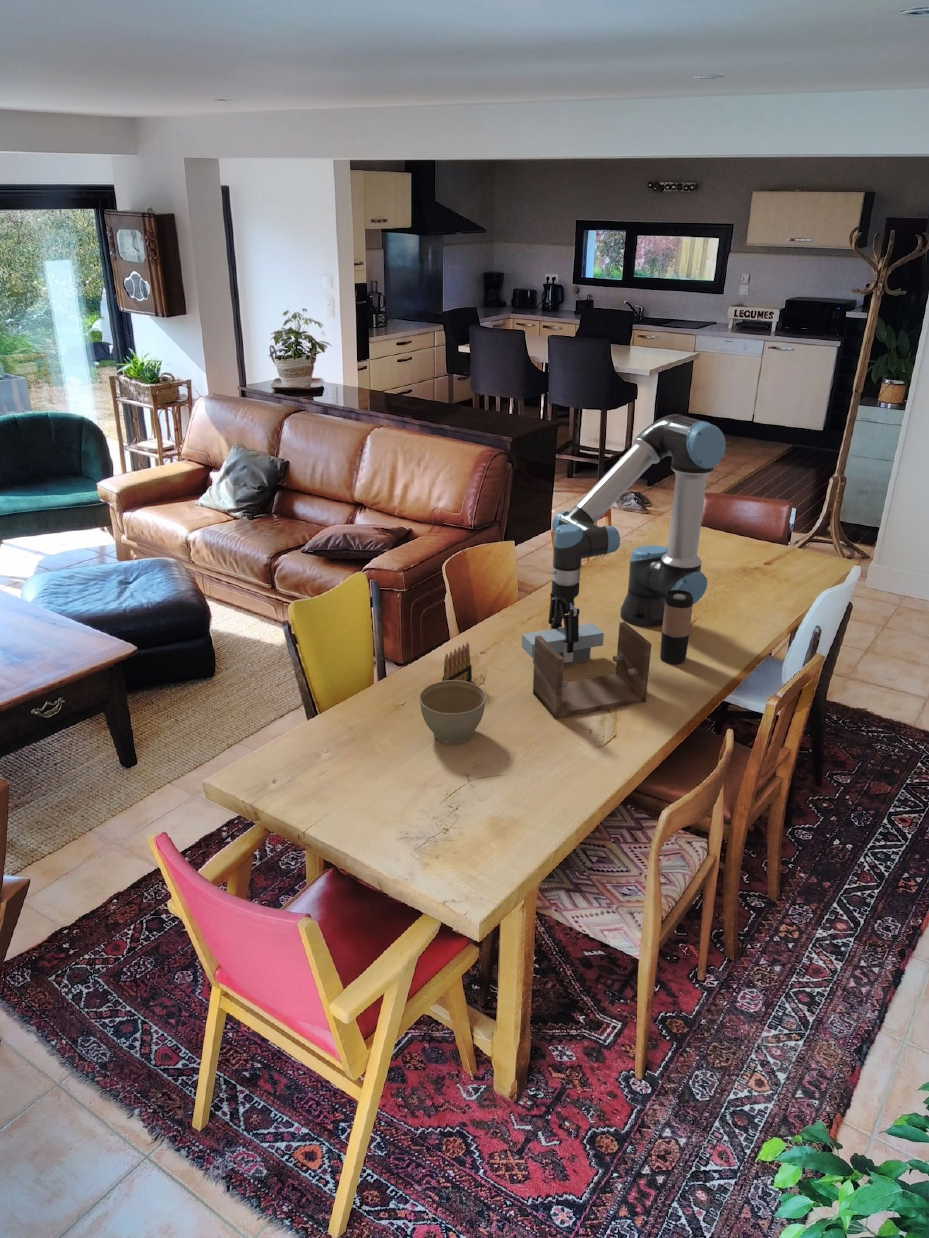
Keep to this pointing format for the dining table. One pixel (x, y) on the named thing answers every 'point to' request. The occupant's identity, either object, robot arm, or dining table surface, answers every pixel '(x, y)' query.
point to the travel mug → (676, 626)
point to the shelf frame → (593, 691)
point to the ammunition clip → (458, 665)
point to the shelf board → (555, 638)
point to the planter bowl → (452, 709)
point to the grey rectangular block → (578, 656)
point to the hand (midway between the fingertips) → (561, 655)
